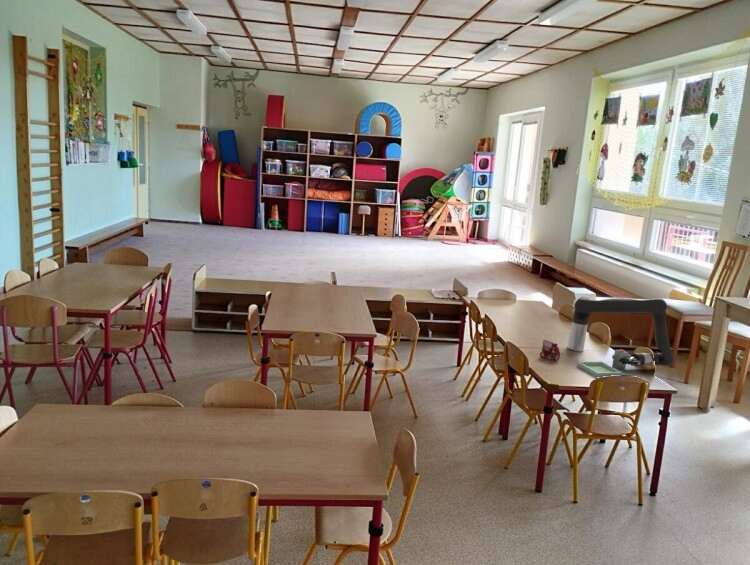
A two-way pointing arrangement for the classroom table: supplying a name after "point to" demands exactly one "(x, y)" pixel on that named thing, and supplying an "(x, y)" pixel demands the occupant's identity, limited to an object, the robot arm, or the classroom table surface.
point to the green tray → (598, 369)
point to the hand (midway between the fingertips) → (617, 359)
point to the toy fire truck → (550, 351)
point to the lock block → (619, 360)
